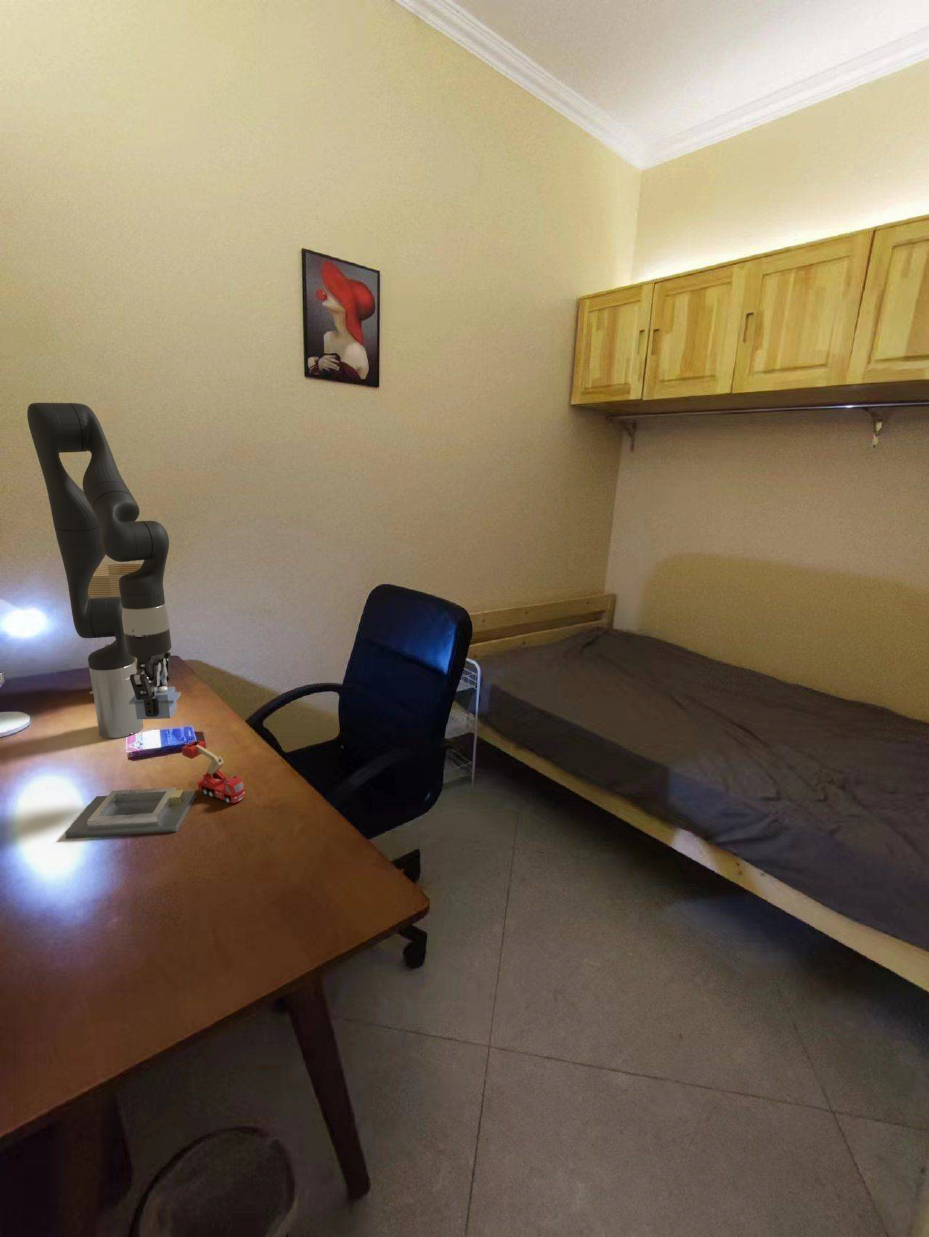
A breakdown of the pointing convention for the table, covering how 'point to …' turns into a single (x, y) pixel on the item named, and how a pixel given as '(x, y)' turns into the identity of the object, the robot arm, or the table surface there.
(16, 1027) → the table surface
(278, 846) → the table surface
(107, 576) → the desk lamp
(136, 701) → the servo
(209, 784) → the toy fire truck
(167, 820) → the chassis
